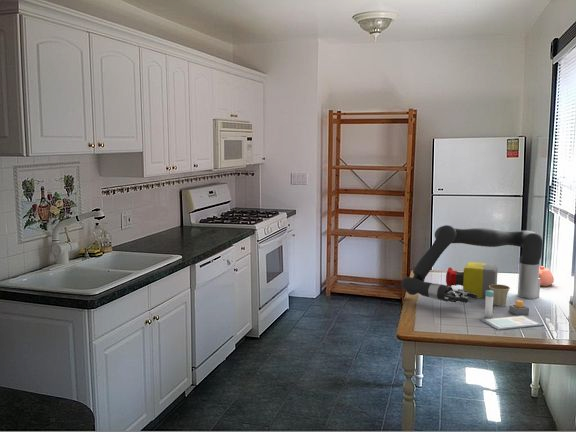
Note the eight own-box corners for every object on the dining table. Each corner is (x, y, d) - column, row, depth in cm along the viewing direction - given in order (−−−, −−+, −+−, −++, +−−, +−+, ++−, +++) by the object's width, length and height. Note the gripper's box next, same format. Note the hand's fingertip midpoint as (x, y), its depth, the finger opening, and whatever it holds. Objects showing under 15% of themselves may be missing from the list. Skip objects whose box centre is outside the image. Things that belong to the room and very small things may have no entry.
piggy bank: (554, 283, 301) (555, 265, 300) (551, 289, 290) (552, 270, 288) (530, 280, 308) (531, 262, 307) (526, 286, 296) (527, 267, 295)
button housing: (520, 310, 255) (520, 304, 255) (528, 314, 249) (529, 307, 249) (509, 311, 254) (509, 305, 254) (517, 315, 248) (517, 308, 248)
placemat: (523, 316, 247) (524, 314, 247) (543, 325, 234) (543, 324, 234) (480, 320, 242) (480, 318, 242) (498, 330, 229) (498, 328, 229)
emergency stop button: (448, 287, 295) (449, 260, 293) (496, 292, 285) (497, 264, 283) (443, 294, 282) (444, 266, 280) (494, 300, 272) (495, 270, 270)
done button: (519, 308, 254) (520, 299, 253) (524, 310, 250) (525, 301, 250) (513, 308, 253) (513, 300, 252) (518, 311, 249) (518, 302, 249)
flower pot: (499, 308, 259) (500, 290, 257) (484, 303, 267) (484, 285, 266) (513, 305, 263) (514, 287, 262) (497, 300, 271) (498, 283, 270)
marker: (489, 315, 248) (490, 289, 246) (494, 318, 245) (495, 292, 243) (482, 316, 247) (484, 290, 246) (487, 318, 244) (488, 292, 242)
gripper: (432, 287, 256) (465, 294, 245) (448, 281, 266) (479, 287, 255) (432, 303, 257) (464, 310, 246) (447, 296, 267) (479, 303, 256)
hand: (472, 298), depth 251 cm, fingers open, 8 cm apart
